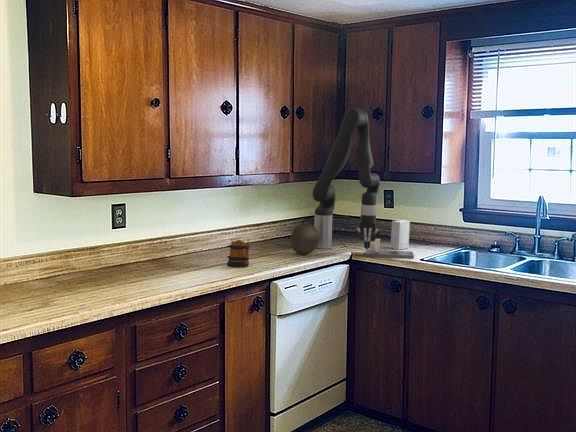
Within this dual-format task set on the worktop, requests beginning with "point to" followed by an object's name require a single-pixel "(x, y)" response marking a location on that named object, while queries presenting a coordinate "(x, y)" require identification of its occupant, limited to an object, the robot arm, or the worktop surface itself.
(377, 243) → the fader
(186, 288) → the worktop surface
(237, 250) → the mug
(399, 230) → the skincare box
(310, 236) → the cantaloupe
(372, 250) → the console
